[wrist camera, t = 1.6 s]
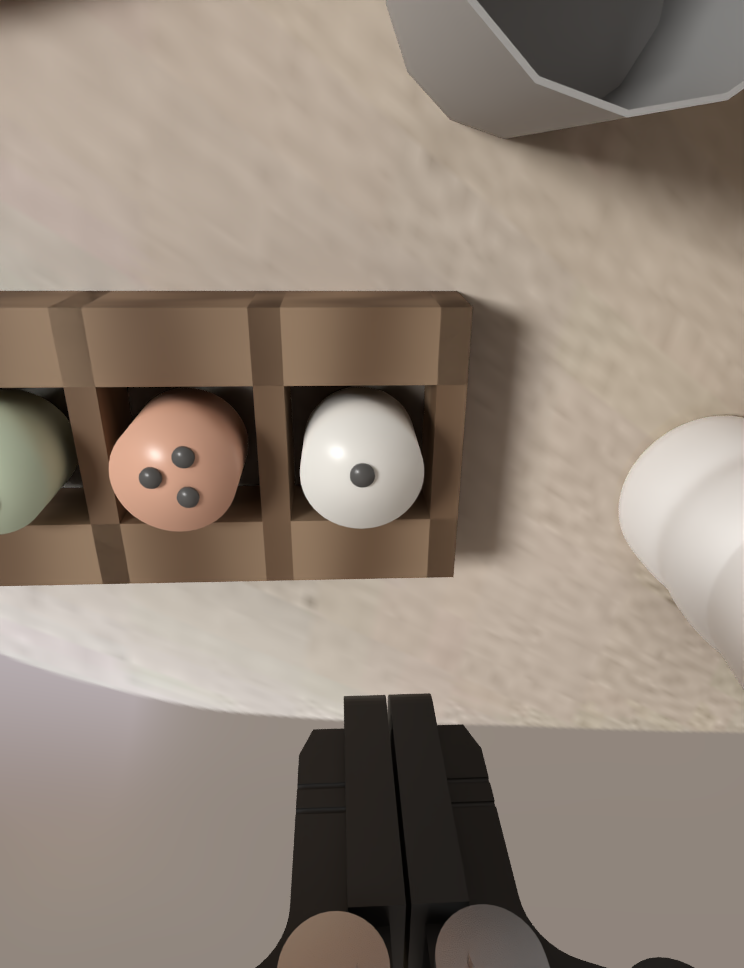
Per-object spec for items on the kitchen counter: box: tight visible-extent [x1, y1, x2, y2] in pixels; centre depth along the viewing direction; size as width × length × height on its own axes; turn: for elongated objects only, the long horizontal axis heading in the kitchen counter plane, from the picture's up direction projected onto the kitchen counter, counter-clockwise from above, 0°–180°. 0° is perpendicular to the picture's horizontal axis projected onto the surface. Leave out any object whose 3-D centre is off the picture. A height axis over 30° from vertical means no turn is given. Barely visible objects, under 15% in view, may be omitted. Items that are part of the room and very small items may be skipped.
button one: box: [300, 387, 424, 529], centre depth 23 cm, size 4×4×3 cm
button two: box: [0, 389, 78, 534], centre depth 22 cm, size 4×4×3 cm
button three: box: [109, 388, 248, 532], centre depth 22 cm, size 4×4×3 cm
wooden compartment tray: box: [0, 291, 473, 586], centre depth 24 cm, size 19×10×3 cm, turn 90°
